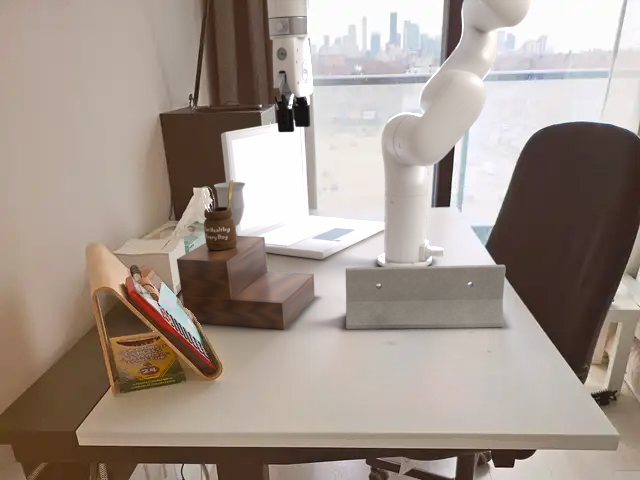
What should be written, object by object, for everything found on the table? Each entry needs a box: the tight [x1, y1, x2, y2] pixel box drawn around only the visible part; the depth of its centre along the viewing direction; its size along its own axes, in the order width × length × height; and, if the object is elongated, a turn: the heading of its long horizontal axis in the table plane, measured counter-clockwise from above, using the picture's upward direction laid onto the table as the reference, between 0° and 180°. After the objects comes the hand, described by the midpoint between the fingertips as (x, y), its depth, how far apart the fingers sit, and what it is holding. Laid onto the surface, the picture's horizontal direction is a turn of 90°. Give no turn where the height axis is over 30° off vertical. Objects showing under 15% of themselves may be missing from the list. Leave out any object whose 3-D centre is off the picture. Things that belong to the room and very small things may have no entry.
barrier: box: [345, 264, 507, 330], centre depth 116 cm, size 28×7×10 cm, turn 86°
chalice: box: [213, 182, 245, 236], centre depth 154 cm, size 7×7×18 cm
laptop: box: [220, 119, 384, 260], centre depth 169 cm, size 34×28×28 cm
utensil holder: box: [200, 180, 237, 251], centre depth 121 cm, size 6×6×12 cm
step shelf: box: [176, 236, 316, 330], centre depth 125 cm, size 20×18×12 cm
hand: (294, 129), depth 130 cm, fingers open, 9 cm apart
